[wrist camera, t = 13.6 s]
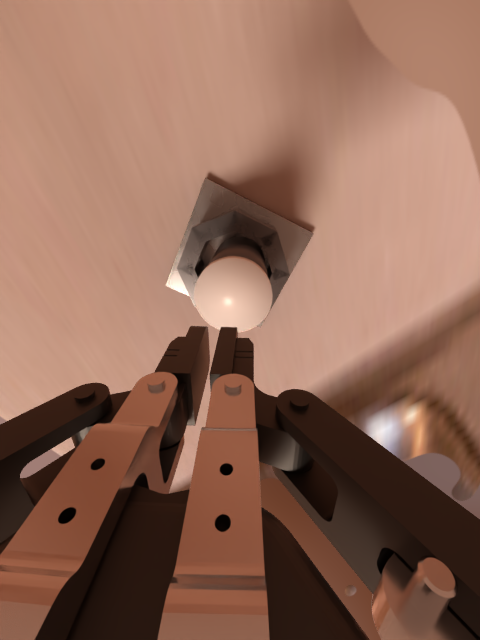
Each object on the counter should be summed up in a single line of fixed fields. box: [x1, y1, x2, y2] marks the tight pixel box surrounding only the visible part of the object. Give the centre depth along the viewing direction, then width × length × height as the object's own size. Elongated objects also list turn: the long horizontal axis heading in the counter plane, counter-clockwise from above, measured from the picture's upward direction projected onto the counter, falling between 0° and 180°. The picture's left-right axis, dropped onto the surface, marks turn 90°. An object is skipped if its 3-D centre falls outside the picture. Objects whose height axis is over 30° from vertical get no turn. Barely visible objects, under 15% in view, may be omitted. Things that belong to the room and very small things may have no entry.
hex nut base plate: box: [166, 178, 314, 328], centre depth 26 cm, size 11×11×4 cm
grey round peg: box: [194, 237, 272, 332], centre depth 23 cm, size 5×5×10 cm
